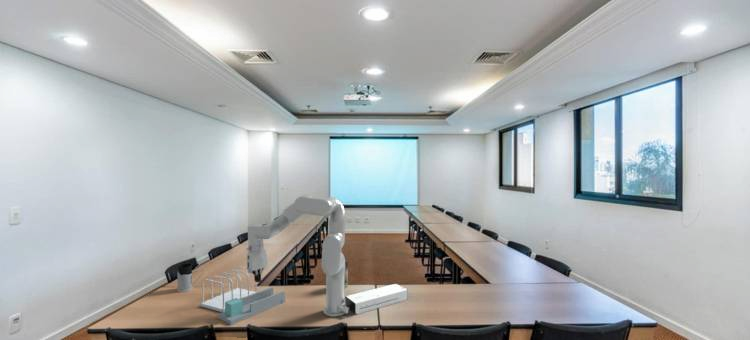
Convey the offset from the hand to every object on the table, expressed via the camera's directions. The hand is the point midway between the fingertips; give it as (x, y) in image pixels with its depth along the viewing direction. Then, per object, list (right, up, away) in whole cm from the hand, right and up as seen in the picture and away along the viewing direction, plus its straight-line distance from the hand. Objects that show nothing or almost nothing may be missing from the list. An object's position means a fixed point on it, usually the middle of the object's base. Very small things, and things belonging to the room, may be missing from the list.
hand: (257, 281), depth 176 cm
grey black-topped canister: (-52, -14, +28) cm, 61 cm away
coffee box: (+41, -14, +28) cm, 51 cm away
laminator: (+64, -15, +7) cm, 66 cm away
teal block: (-9, -13, -9) cm, 18 cm away
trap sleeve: (-2, -15, -1) cm, 15 cm away
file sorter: (-19, -15, +10) cm, 26 cm away
